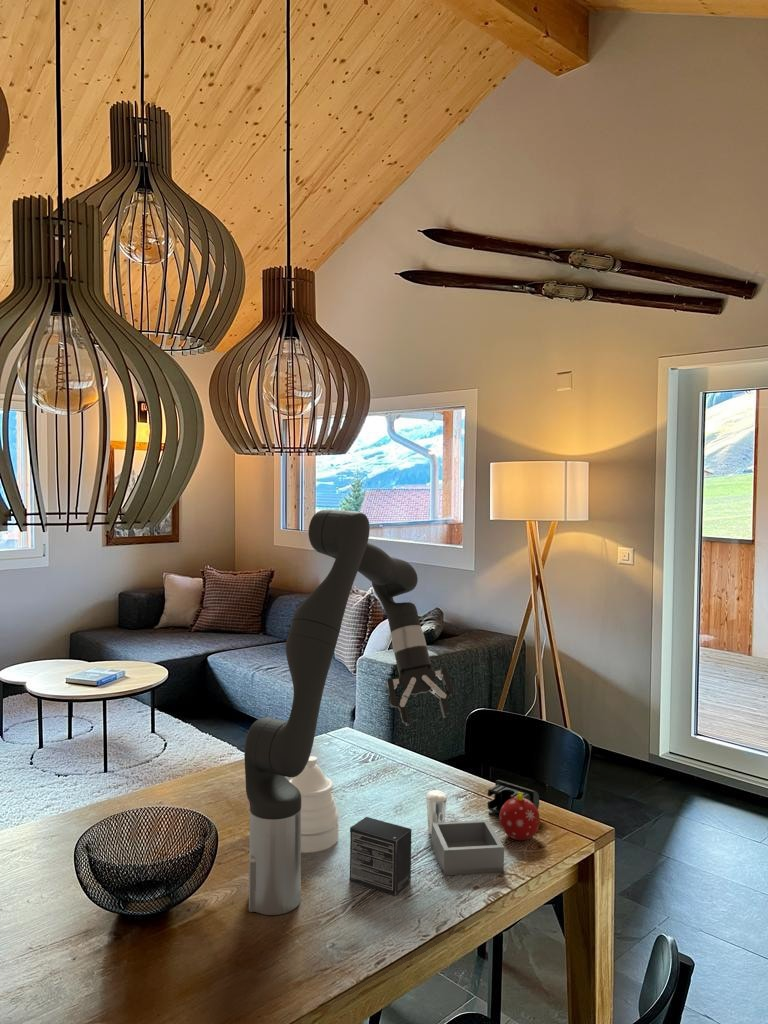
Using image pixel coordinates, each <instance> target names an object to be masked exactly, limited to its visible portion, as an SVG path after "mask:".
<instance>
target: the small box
mask: <svg viewBox="0 0 768 1024" xmlns="http://www.w3.org/2000/svg"><path fill="white" fill-rule="evenodd" d="M349 833H350V834H349V837H350V838H349V839H350V842H349V843H350V844H349V846H350V847H349V879H348V880H349V881H350V882H352V883H356V884H359V885H362V886H365V887H367V888H368V887H369V888H372V889H375V890H376V891H377V890H378V891H381V892H383V893H387V894H390V895H392V896H397V895H399V893H400V892H401V891H402V890H403V889H404V888H405V887H406V886H408V885H409V884H410V883H411V882H412V878H411V877H412V828H408V827H404V826H401V825H397V824H394V823H391V822H386V821H385V820H384V821H383V820H379V819H376V818H372V817H369V816H366V817H364V818H362V819H361V820H359V821H358V822H356V823H355V824H353V825H352V826H350V828H349Z"/></svg>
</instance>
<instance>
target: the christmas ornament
mask: <svg viewBox="0 0 768 1024" xmlns="http://www.w3.org/2000/svg"><path fill="white" fill-rule="evenodd" d="M519 793H520V794H521V795H520V794H519ZM540 818H541V817H540V812H539V809H538V810H537V808H536V807H535V805H534V804H533V803H532V802H531V801H529V800H528V799H525V798H523V793H521V792H518V793H517V797H515V798H511V799H509V800H508V801H506V802H505V803H504V805H503V806H502V808H501V810H500V814H499V818H498V819H499V824H500V827H501V829H502V830H503V832H504V833H505V834H506V835H507V836H508V837H510V838H511V839H513V840H516V841H525V840H528V839H530V838H532V837H533V836H534V835H535V834H536V833H537V831H538V829H539V828H540V824H541V823H540V821H541V819H540Z"/></svg>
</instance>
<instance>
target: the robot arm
mask: <svg viewBox="0 0 768 1024" xmlns="http://www.w3.org/2000/svg"><path fill="white" fill-rule="evenodd" d="M308 526H309V527H308V531H307V532H308V540H309V543H310V545H311V547H312V548H313V550H315V551H316V552H317V553H319V554H322V555H325V556H328V557H329V558H330V557H331V558H333V559H334V560H335V561H334V562H333V564H332V567H331V569H330V570H329V573H328V574H327V576H326V577H325V578H324V579H323V581H321V583H320V584H318V585H317V587H316V588H314V590H313V591H311V592H310V594H309V595H308V596H307V597H306V598H305V599H304V600H303V601H302V602H301V604H300V605H299V606H298V607H297V609H296V611H295V612H294V615H293V618H292V621H291V624H290V626H289V631H288V634H287V637H286V642H285V654H286V655H285V657H286V660H287V664H288V669H289V673H290V678H291V682H292V687H293V696H292V697H293V699H292V706H291V710H290V714H289V717H288V721H287V720H282V719H280V718H279V719H277V718H273V717H261V718H258V719H257V720H255V721H254V722H253V723H252V724H251V726H250V727H249V728H248V731H247V734H246V738H245V743H244V754H243V755H244V773H245V774H244V775H245V776H244V778H245V793H246V797H247V799H248V802H249V854H248V855H249V856H248V912H250V913H251V912H256V913H258V914H261V915H266V916H279V915H283V914H287V913H289V912H291V911H294V909H296V908H297V907H298V906H299V905H300V903H301V892H302V889H301V888H302V886H301V885H302V884H301V881H302V880H301V879H302V877H301V876H302V868H301V867H302V852H301V793H300V791H299V790H298V789H297V788H296V787H295V786H294V785H293V784H292V783H290V782H289V781H290V780H288V779H287V778H293V777H296V776H298V775H299V774H300V773H301V772H302V771H303V770H304V768H305V766H306V765H307V762H308V760H309V757H310V756H311V754H312V749H313V746H314V741H315V734H316V729H317V724H318V719H319V713H320V708H321V701H322V698H323V694H324V689H325V685H326V681H327V677H328V674H329V671H330V666H331V664H332V660H333V657H334V654H335V651H336V648H337V647H336V646H337V644H338V640H339V637H340V636H339V635H340V631H341V627H342V623H343V620H344V619H343V618H344V615H345V612H346V608H347V604H348V601H349V598H350V594H351V590H352V588H353V584H354V582H355V579H356V577H357V574H358V573H360V574H361V575H362V576H364V577H365V578H366V579H367V580H369V581H370V582H371V584H372V585H371V586H372V588H373V591H374V592H375V594H376V597H377V598H378V599H379V601H380V603H381V605H382V607H383V610H384V612H385V614H386V618H387V621H388V627H389V630H390V634H391V644H392V650H393V653H394V657H395V663H396V667H397V671H398V678H394V679H393V678H388V679H387V681H386V691H387V697H388V701H389V707H390V708H397V709H398V710H399V715H400V718H401V719H400V720H401V722H402V723H403V724H405V726H406V727H407V726H410V724H411V721H410V717H409V713H408V707H407V706H406V704H407V702H408V699H409V697H410V696H411V695H412V696H417V695H419V694H427V693H428V692H430V693H431V694H433V696H435V697H436V698H437V699H439V701H438V702H439V707H440V711H441V717H442V718H443V719H445V718H447V717H448V715H449V714H450V708H449V703H448V698H449V697H450V696H452V694H453V693H454V688H453V685H452V682H451V678H450V675H449V672H448V669H447V667H443V668H441V669H439V670H434V669H433V667H432V663H431V659H430V654H429V650H428V646H427V642H426V638H425V634H424V632H423V630H422V625H421V623H420V617H419V613H418V609H417V607H416V605H415V603H412V602H405V601H404V602H396V601H395V600H394V597H397V596H400V595H404V594H407V593H409V592H412V591H413V590H414V589H416V587H417V586H418V585H417V584H418V580H419V579H418V574H417V572H416V569H415V568H414V567H413V566H412V565H411V563H409V562H407V560H403V559H400V558H397V557H394V556H393V557H392V556H390V555H389V554H388V553H387V552H385V550H383V549H382V548H381V547H379V546H377V545H374V544H372V543H370V542H368V541H369V539H370V538H369V537H370V521H369V518H368V516H367V515H366V514H365V513H364V512H361V511H354V510H346V509H345V510H343V509H333V508H332V509H331V508H330V509H321V510H319V511H317V512H315V514H314V515H313V516H312V518H311V519H310V522H309V525H308ZM436 677H438V679H439V680H440V681H442V684H443V688H444V691H443V690H442V689H441V688H440V687H439V686H438V685H437V684H436V683H435V682H434V681H435V679H436ZM398 684H399V686H400V687H402V688H403V690H404V691H403V693H402V696H401V698H400V700H397V697H396V691H395V690H396V689H397V688H398Z"/></svg>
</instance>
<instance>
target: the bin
mask: <svg viewBox="0 0 768 1024" xmlns="http://www.w3.org/2000/svg"><path fill="white" fill-rule="evenodd" d="M431 849H432V850H433V854H434V855H435V857H436V860H437V862H438V864H439V867H440V869H441V872H442V875H443V876H456V875H457V876H458V875H462V876H463V875H477V874H478V875H479V874H491V873H492V874H493V873H496V874H497V873H504V871H505V870H504V868H505V846H504V845H503V843H502V841H501V840H500V838H499V836H498V835H497V833H496V831H495V829H494V828H493V826H492V825H491V823H490V821H489V820H488V819H479V820H460V821H459V820H458V821H445V822H434V823H432V835H431Z"/></svg>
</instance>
